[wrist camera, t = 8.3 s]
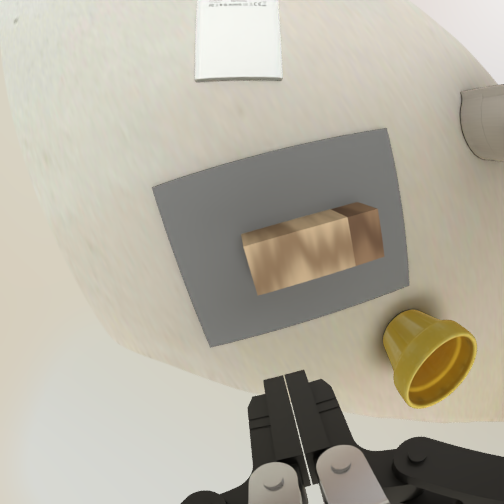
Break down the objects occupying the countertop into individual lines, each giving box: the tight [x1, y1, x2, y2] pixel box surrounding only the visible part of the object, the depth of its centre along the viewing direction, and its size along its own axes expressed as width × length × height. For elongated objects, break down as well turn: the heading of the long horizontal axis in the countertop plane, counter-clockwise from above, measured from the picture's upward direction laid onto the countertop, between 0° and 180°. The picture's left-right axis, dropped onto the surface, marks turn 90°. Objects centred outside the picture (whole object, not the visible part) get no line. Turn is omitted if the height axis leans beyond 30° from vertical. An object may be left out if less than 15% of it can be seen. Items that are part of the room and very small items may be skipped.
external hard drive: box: [195, 0, 283, 82], centre depth 23 cm, size 2×8×12 cm
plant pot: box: [383, 310, 477, 409], centre depth 30 cm, size 10×10×10 cm
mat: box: [152, 128, 409, 347], centre depth 29 cm, size 18×24×1 cm
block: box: [241, 202, 385, 295], centre depth 27 cm, size 4×4×12 cm
